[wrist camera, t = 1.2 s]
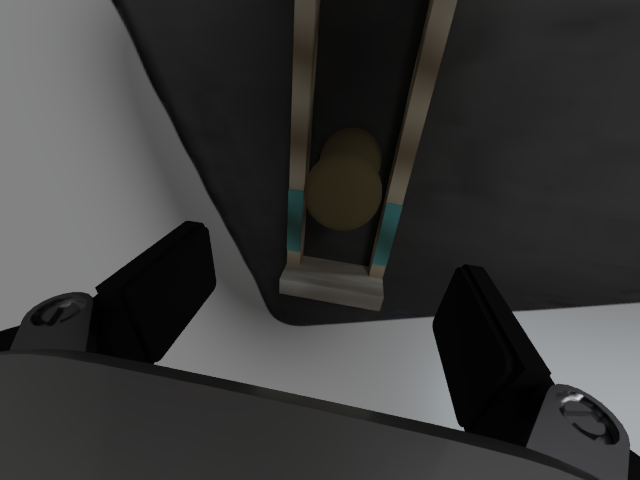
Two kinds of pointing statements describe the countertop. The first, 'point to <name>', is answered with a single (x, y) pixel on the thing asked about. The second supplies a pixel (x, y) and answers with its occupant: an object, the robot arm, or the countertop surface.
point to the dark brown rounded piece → (345, 180)
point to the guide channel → (366, 281)
